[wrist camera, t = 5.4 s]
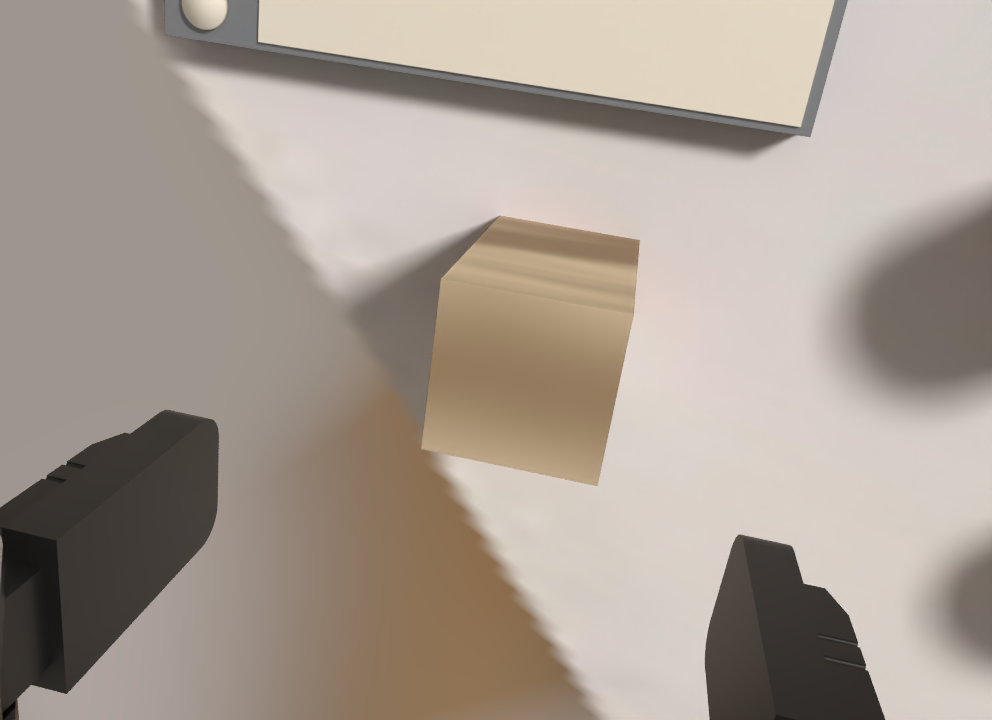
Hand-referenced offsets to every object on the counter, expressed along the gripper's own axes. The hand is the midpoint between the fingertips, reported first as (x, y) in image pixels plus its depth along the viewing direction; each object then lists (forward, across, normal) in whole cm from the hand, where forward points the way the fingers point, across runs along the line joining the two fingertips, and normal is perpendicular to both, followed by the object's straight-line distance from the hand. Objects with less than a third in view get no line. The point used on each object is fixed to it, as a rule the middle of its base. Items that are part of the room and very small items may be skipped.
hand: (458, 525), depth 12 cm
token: (+12, 0, 0) cm, 13 cm away
